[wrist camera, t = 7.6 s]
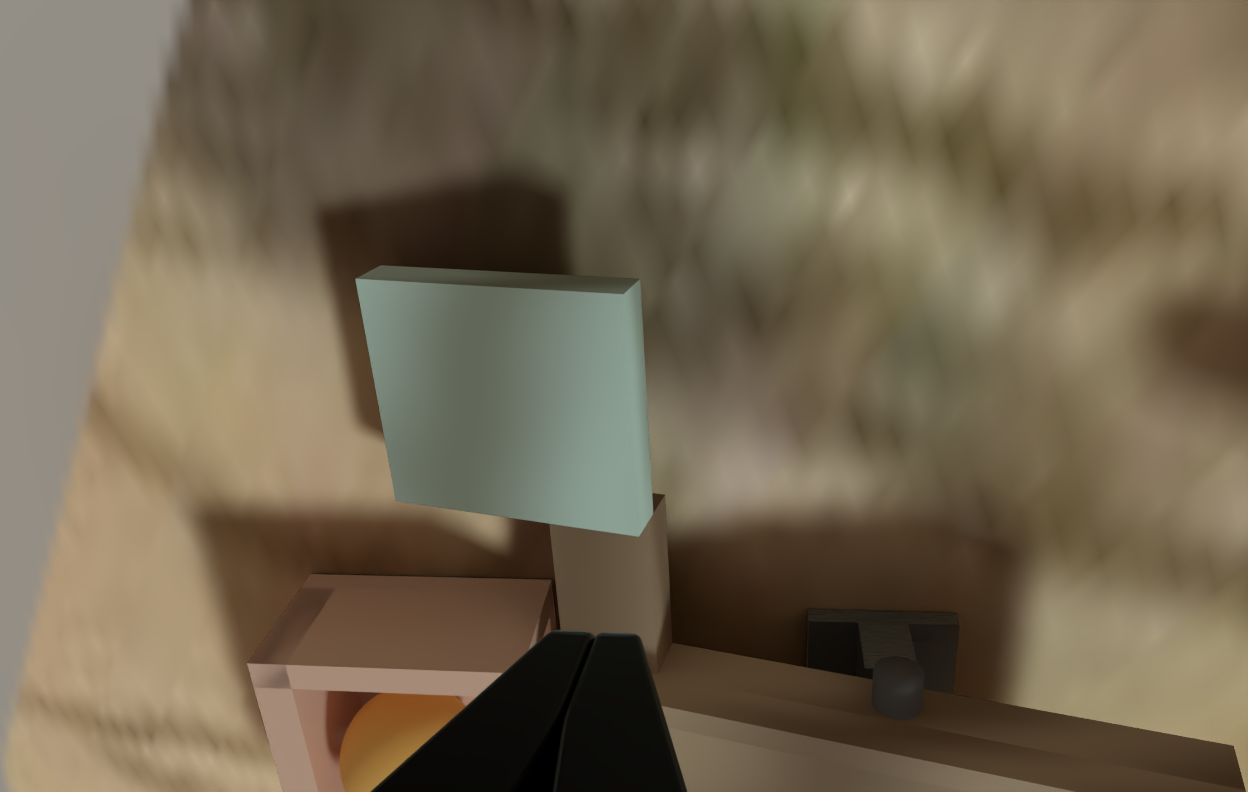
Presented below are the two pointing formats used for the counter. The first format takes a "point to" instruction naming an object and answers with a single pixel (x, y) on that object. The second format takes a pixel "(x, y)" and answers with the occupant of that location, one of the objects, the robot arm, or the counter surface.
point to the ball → (390, 735)
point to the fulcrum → (883, 642)
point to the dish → (383, 655)
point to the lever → (638, 554)
